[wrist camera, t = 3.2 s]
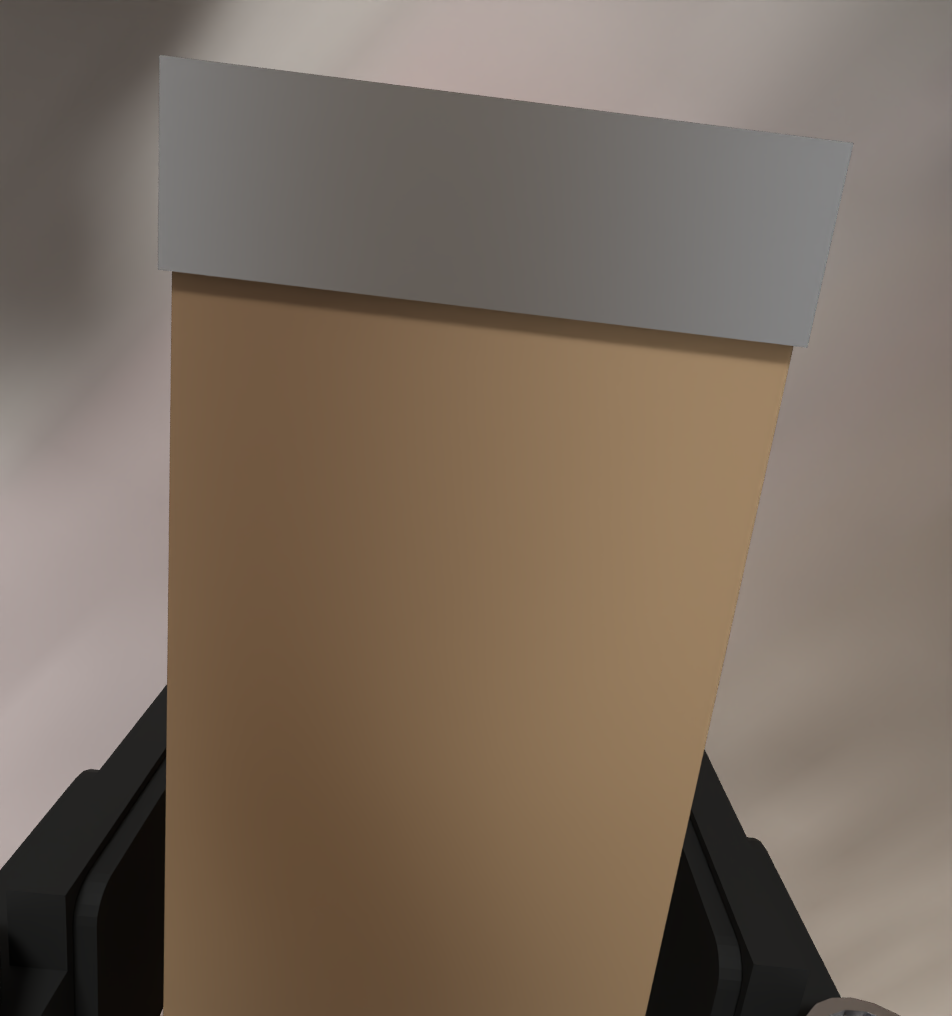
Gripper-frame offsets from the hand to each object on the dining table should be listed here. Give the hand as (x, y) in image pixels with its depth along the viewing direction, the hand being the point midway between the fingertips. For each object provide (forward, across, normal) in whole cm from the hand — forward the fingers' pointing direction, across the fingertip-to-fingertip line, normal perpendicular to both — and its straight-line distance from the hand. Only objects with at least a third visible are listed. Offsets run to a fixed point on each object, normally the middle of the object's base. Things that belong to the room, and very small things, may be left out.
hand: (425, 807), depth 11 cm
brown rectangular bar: (+1, 0, 0) cm, 1 cm away
